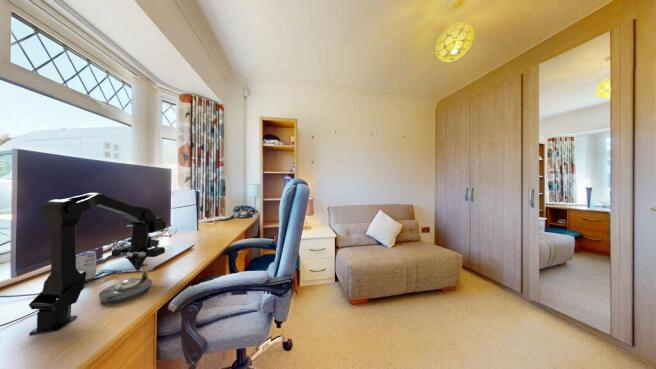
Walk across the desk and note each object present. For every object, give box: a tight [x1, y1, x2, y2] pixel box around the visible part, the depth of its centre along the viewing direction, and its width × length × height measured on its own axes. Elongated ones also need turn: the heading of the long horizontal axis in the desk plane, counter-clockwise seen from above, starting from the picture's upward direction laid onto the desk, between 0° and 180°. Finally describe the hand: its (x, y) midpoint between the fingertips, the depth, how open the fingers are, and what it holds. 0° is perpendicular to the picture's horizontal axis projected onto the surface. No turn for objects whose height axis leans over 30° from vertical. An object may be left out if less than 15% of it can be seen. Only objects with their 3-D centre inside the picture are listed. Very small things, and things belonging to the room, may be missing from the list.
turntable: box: [98, 262, 153, 302], centre depth 81 cm, size 17×15×8 cm
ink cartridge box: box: [76, 250, 97, 279], centre depth 90 cm, size 10×6×14 cm, turn 145°
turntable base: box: [102, 288, 150, 305], centre depth 80 cm, size 13×13×1 cm
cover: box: [114, 277, 140, 292], centre depth 80 cm, size 7×7×3 cm
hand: (138, 270), depth 88 cm, fingers closed
